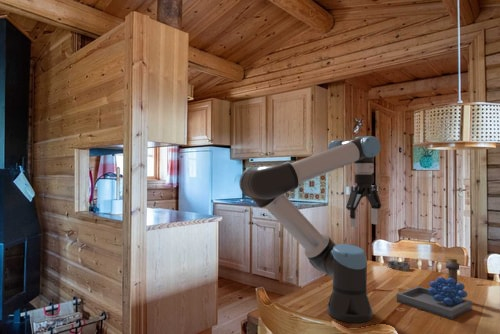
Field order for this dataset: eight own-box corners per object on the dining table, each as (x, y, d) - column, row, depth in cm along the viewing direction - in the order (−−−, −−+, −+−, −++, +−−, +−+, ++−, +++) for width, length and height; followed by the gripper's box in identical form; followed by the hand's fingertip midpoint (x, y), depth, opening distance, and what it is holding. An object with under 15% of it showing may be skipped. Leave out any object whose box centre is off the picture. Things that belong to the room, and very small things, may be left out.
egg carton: (386, 268, 176) (386, 260, 176) (390, 265, 181) (390, 258, 182) (407, 272, 169) (407, 264, 169) (411, 269, 175) (411, 261, 175)
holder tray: (451, 319, 112) (451, 310, 112) (396, 301, 128) (396, 293, 128) (471, 309, 121) (471, 300, 121) (418, 293, 138) (418, 286, 138)
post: (457, 302, 128) (457, 262, 128) (441, 297, 133) (441, 259, 133) (464, 299, 131) (464, 260, 132) (448, 294, 136) (448, 257, 137)
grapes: (447, 317, 122) (473, 299, 122) (446, 310, 118) (473, 291, 118) (423, 291, 131) (448, 275, 132) (421, 284, 127) (447, 267, 127)
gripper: (352, 173, 126) (352, 229, 125) (389, 174, 140) (390, 224, 139) (337, 173, 132) (337, 226, 131) (374, 174, 146) (374, 221, 146)
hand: (364, 225), depth 135 cm, fingers open, 13 cm apart
